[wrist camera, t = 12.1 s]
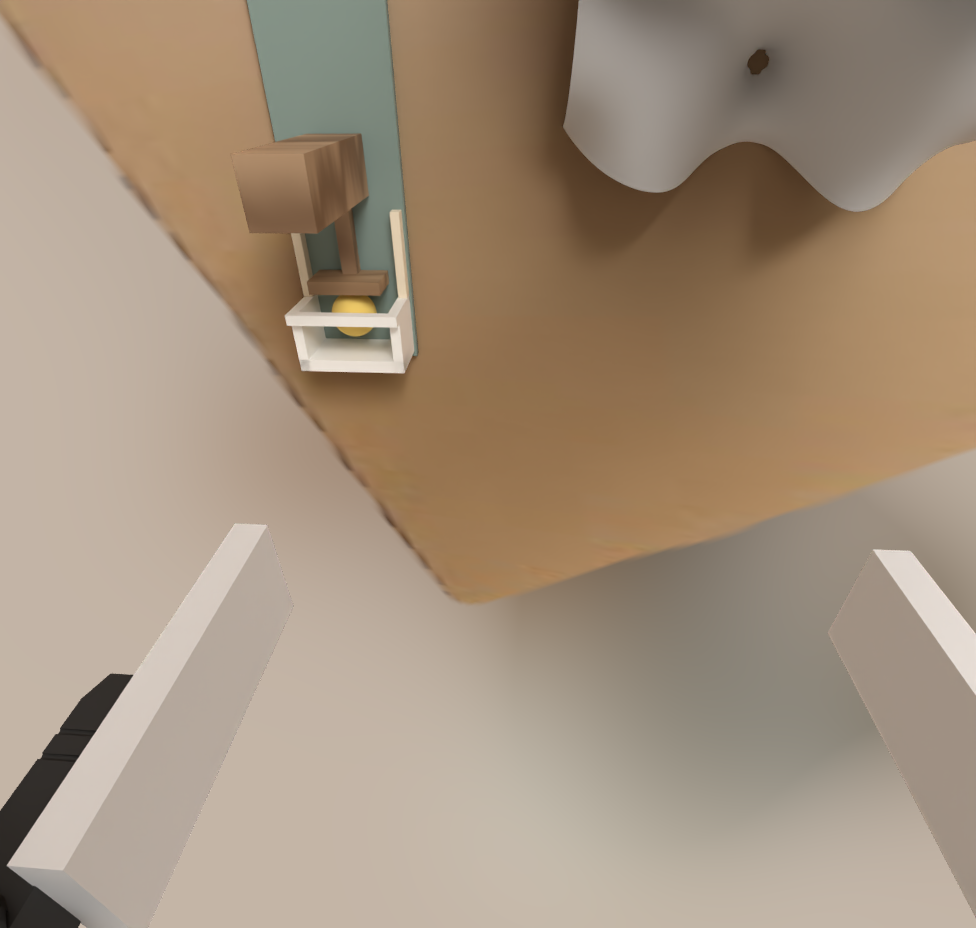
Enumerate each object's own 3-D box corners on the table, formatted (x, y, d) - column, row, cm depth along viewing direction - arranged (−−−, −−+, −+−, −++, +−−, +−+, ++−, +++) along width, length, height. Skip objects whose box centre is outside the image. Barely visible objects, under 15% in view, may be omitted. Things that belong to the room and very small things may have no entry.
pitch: (240, -54, 34) (228, -59, 33) (382, -57, 34) (376, -62, 33) (320, 351, 50) (314, 358, 49) (418, 353, 50) (415, 360, 48)
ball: (322, 316, 43) (335, 344, 46) (367, 317, 43) (377, 345, 46) (330, 281, 45) (342, 310, 48) (374, 281, 44) (383, 311, 48)
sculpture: (556, 181, 41) (561, 207, 33) (593, -206, 30) (614, -305, 22) (900, 199, 40) (990, 230, 32) (1068, -193, 29) (1267, -292, 21)
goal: (307, 292, 46) (284, 315, 42) (409, 294, 46) (396, 317, 42) (319, 348, 49) (298, 375, 45) (414, 350, 49) (402, 377, 44)
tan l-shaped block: (295, 133, 39) (216, 153, 30) (372, 133, 39) (318, 153, 29) (322, 282, 45) (263, 339, 36) (389, 282, 45) (348, 341, 35)
